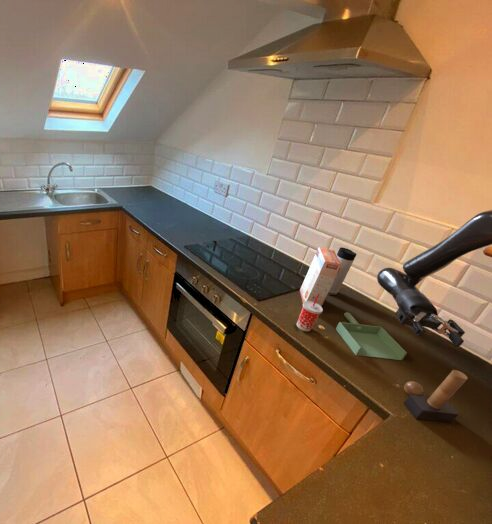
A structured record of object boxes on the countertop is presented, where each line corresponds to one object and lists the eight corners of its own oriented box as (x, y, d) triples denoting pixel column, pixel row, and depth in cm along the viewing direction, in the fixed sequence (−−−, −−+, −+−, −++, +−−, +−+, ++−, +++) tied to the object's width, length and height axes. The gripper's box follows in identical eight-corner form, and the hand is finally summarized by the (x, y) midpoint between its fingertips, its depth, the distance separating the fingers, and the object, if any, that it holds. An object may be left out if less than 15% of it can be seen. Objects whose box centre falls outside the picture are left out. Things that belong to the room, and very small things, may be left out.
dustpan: (402, 360, 95) (407, 353, 93) (355, 355, 95) (360, 347, 93) (363, 319, 113) (367, 312, 111) (324, 314, 113) (327, 308, 111)
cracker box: (319, 313, 113) (343, 265, 103) (302, 308, 115) (324, 260, 105) (314, 294, 125) (335, 249, 115) (299, 290, 127) (318, 245, 117)
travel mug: (317, 286, 131) (335, 245, 121) (330, 287, 132) (350, 246, 122) (326, 295, 125) (346, 252, 116) (340, 295, 126) (361, 253, 117)
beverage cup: (305, 334, 101) (321, 301, 94) (290, 323, 106) (304, 290, 99) (316, 330, 104) (333, 297, 97) (301, 319, 109) (316, 287, 102)
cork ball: (421, 396, 83) (429, 386, 81) (416, 402, 81) (424, 392, 79) (404, 385, 86) (411, 376, 84) (398, 391, 84) (406, 381, 82)
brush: (436, 407, 80) (470, 369, 73) (450, 422, 76) (487, 384, 69) (403, 403, 80) (433, 365, 73) (415, 419, 76) (449, 380, 69)
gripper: (394, 289, 93) (417, 320, 80) (449, 302, 90) (482, 336, 76) (382, 308, 97) (402, 340, 83) (434, 321, 93) (463, 357, 80)
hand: (440, 338), depth 80 cm, fingers open, 8 cm apart
